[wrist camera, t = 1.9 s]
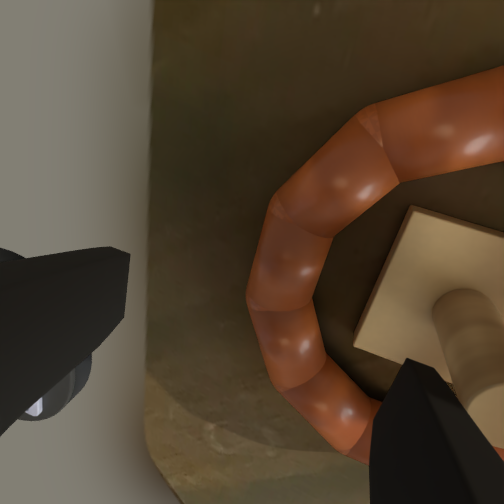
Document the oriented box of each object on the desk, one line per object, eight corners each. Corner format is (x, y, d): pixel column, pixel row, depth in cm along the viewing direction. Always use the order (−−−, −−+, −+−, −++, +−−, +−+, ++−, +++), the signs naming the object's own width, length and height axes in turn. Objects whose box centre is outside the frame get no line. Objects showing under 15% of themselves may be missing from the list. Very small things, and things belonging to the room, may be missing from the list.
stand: (353, 333, 16) (345, 448, 10) (410, 203, 13) (438, 267, 8) (497, 387, 15) (573, 546, 9) (589, 257, 12) (765, 373, 7)
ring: (228, 373, 18) (208, 410, 16) (324, 24, 12) (314, 4, 10) (556, 509, 16) (589, 577, 14) (907, 156, 9) (1086, 170, 7)
